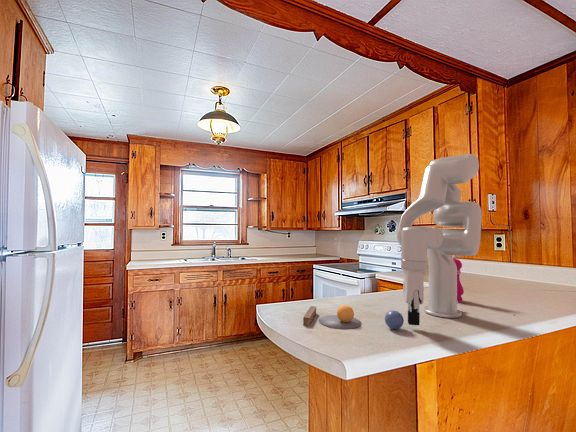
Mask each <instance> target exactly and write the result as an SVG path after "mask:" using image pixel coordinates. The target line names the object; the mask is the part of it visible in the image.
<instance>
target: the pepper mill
mask: <svg viewBox="0 0 576 432" xmlns="http://www.w3.org/2000/svg"><path fill="white" fill-rule="evenodd" d="M457 257H458V256H457V255H451V258H452V259H453V261H454V262H455V264H456V266H457V301H458V303H462V302H463V297H462V295H464V292H465V291H464V287H463V285H462V282H461V281H460V279H461V277H460V275H461V269H462V267H463V264H462V261H461V260H459V259H457Z"/></svg>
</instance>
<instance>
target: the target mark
mask: <svg viewBox="0 0 576 432" xmlns="http://www.w3.org/2000/svg"><path fill="white" fill-rule="evenodd" d="M318 323H319V324H321V325H322V326H324V327H326V328H331V329H337V330H350V329H357V328H359V327H361V326H362V322H361V320H359V319H358V318H356V317H353V319H352V320H351V321H350V322H347V323H345V322H342V321H340V320H339V318H338V316H337V314H329V315H328V314H327V315H325V316H324V315H323V316H321V317H320V318H318Z"/></svg>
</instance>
